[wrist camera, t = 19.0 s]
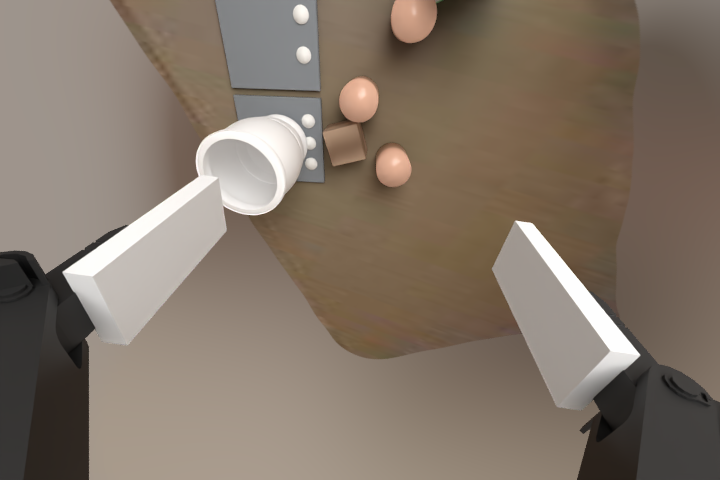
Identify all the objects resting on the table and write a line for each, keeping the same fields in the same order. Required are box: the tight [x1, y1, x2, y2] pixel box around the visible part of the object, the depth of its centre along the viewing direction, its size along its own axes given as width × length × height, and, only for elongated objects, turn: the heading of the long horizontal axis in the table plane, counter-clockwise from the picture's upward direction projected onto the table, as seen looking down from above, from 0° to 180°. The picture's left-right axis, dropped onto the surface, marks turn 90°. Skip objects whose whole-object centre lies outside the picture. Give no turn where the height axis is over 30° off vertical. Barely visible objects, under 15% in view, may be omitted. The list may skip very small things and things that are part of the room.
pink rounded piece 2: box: [376, 143, 411, 187], centre depth 45 cm, size 5×5×6 cm
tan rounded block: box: [391, 0, 437, 43], centre depth 35 cm, size 5×5×6 cm
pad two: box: [215, 0, 321, 91], centre depth 39 cm, size 13×13×1 cm
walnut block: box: [323, 120, 367, 166], centre depth 44 cm, size 5×5×5 cm
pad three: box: [233, 95, 325, 182], centre depth 47 cm, size 13×13×1 cm
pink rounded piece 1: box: [339, 76, 379, 123], centre depth 40 cm, size 5×5×6 cm
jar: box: [196, 114, 308, 215], centre depth 41 cm, size 11×10×15 cm
